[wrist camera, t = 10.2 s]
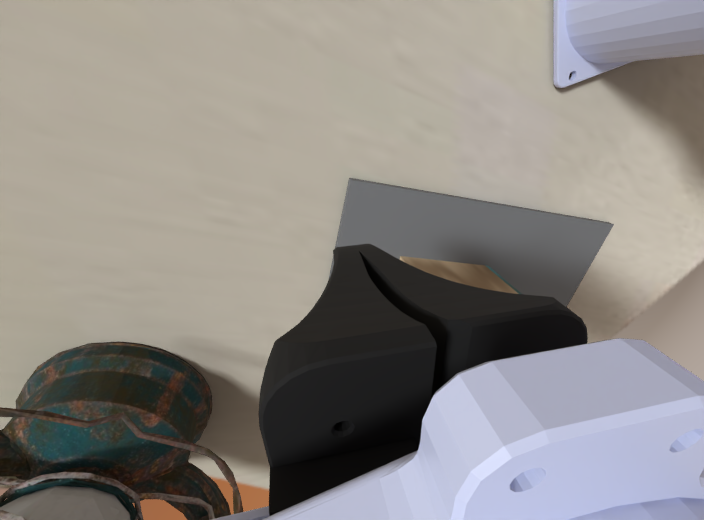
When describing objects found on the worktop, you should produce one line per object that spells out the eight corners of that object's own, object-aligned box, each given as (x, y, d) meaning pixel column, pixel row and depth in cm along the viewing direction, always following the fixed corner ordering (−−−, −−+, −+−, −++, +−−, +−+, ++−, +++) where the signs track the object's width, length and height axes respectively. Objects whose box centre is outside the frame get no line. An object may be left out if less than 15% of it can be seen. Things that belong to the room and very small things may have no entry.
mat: (608, 222, 26) (613, 224, 26) (533, 354, 32) (537, 357, 32) (349, 177, 21) (350, 179, 20) (315, 347, 27) (315, 351, 26)
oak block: (525, 296, 22) (423, 287, 20) (499, 347, 23) (404, 344, 22) (488, 265, 26) (400, 256, 24) (468, 311, 27) (385, 306, 25)
